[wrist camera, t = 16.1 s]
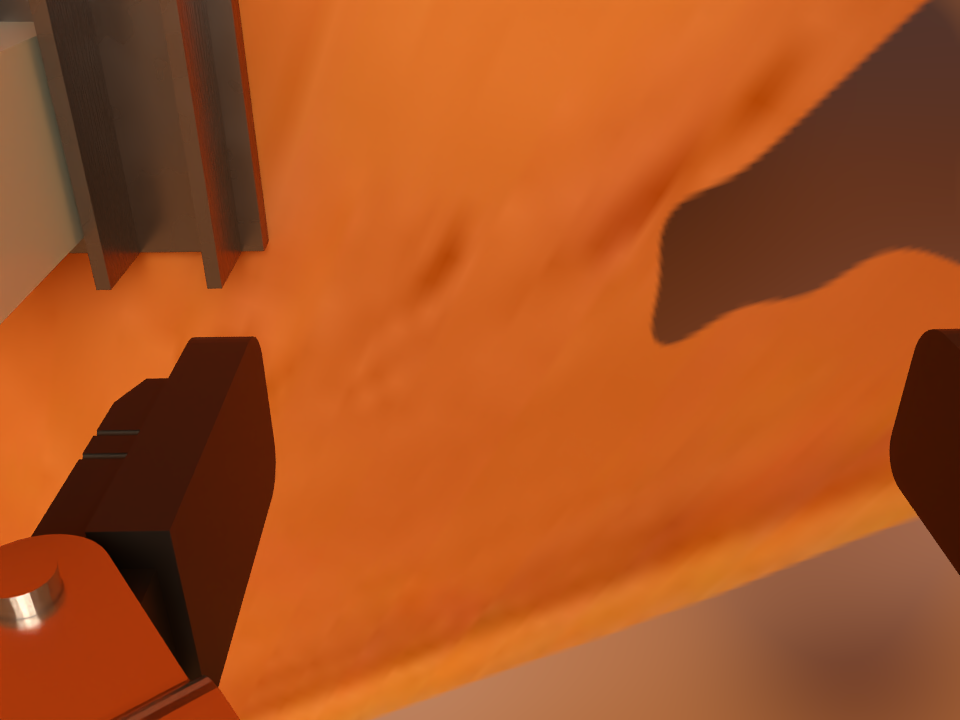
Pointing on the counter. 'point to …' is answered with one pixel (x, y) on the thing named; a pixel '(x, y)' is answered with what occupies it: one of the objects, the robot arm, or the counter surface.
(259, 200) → the dish rack
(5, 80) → the tall cream pillar
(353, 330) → the counter surface
